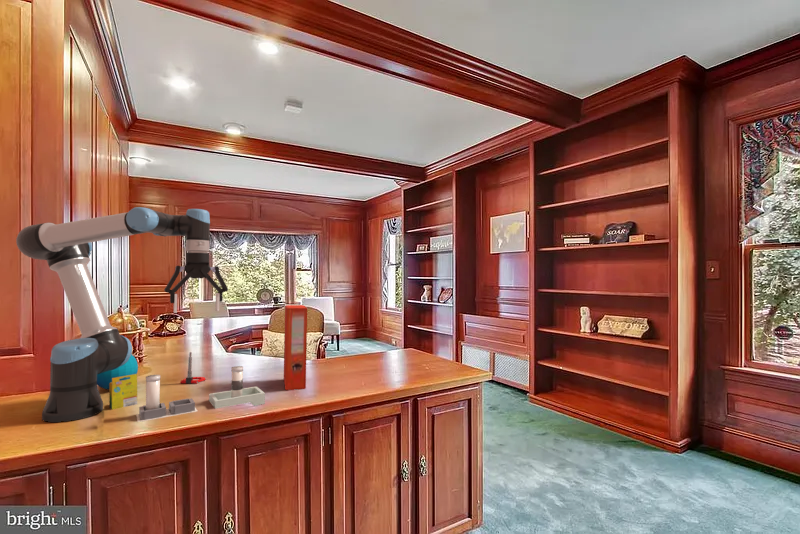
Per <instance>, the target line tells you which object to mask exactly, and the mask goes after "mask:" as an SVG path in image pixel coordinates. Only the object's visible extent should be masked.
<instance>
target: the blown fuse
mask: <svg viewBox="0 0 800 534" xmlns="http://www.w3.org/2000/svg"><path fill="white" fill-rule="evenodd" d="M243 376H244V366H240V365H239V366H238V365H237V366H236V365H235V366H232V367H231V381H230V382H231V383H230V384H231V386H230V387H231V388H230V391H231V398H233V397H239V396H243V388H244V377H243Z"/></svg>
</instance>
